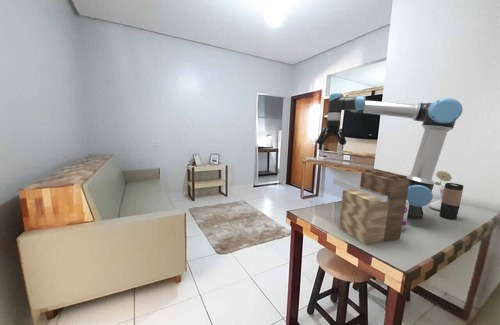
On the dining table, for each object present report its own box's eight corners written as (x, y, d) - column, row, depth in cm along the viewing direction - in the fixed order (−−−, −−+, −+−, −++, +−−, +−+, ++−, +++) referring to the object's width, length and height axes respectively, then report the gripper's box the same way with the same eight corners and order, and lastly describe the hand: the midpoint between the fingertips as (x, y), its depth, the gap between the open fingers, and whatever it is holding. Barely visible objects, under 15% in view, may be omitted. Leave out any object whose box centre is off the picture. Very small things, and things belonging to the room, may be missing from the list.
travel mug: (460, 221, 116) (467, 186, 112) (444, 219, 117) (451, 185, 114) (450, 215, 123) (457, 183, 120) (435, 214, 124) (441, 182, 121)
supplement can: (405, 233, 99) (410, 203, 97) (385, 228, 103) (389, 199, 101) (404, 226, 106) (408, 199, 104) (385, 222, 110) (389, 195, 108)
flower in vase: (457, 213, 127) (466, 174, 122) (439, 212, 127) (446, 173, 123) (438, 205, 139) (445, 169, 135) (421, 205, 140) (428, 169, 136)
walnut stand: (338, 227, 103) (345, 169, 98) (370, 223, 108) (377, 168, 104) (365, 244, 88) (374, 177, 83) (399, 239, 93) (410, 175, 89)
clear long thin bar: (333, 183, 112) (333, 178, 112) (337, 182, 113) (338, 178, 112) (381, 202, 84) (382, 196, 83) (386, 201, 84) (387, 195, 84)
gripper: (346, 121, 131) (342, 154, 135) (312, 119, 124) (309, 154, 128) (355, 121, 124) (351, 155, 128) (319, 119, 117) (316, 155, 121)
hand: (330, 155), depth 128 cm, fingers open, 13 cm apart
